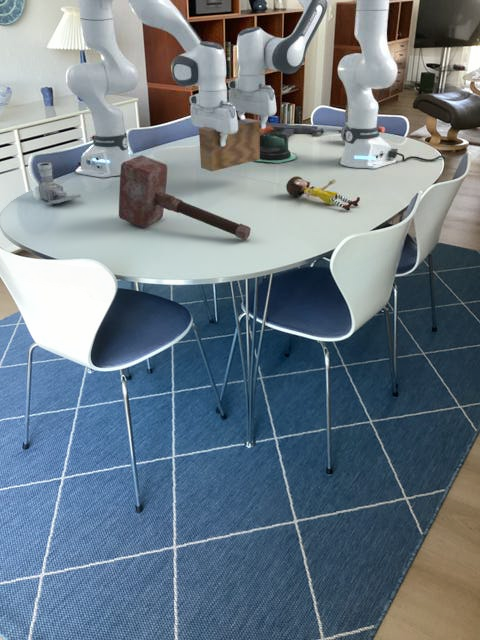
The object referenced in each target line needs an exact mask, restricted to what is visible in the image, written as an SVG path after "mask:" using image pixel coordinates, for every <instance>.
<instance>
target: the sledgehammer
mask: <svg viewBox="0 0 480 640" xmlns="http://www.w3.org/2000/svg"><path fill="white" fill-rule="evenodd" d="M168 168H169V167H168V166H167V164H166V163H164V162H161V161H158V160H155V159H153V158H150V157H147V156H145V155H143V154H142V155H138V156H136V157H133V158H130V160H128V161H125V162H123V163H122V164H121V173H120V175H119V190H118V191H119V194H118V217H119V218H120V219H121V220H124V221H125V222H128V223H131V224H133V225H135V226H138V227H139V228H142V229H146V228H148V227H149V226H151V225H153V224H154V223H157V222H158V221H160V220H161V219H162V218H163V217H164V210H167V211H171V212H173V213H177V214H180V215H181V214H182V215H184V216H187V217H189V218H191V219H194V220H196V221H199V222H202V223H203V224H207V225H208V226H212V227H214V228H217V229H218V230H222V231H224V232H226V233H229V234H231V235H234V236H235V237H236V238H239V239H241V240H244V241H247V239H248V238H249V237H250V234H251V231H252V228H251V226H248V225H246V224H243V223H237V222H236V221H233V220H230V219H227V218H225V217H223V216H220V215H218V214H216V213H213V212H209V211H207V210H204V209H202V208H201V207H200V208H199V207H197V206H195V205H192V204H190V203H187V202H184V200H182V199H179V198H177V197H176V196H174V195H171V194H168V193H166V190H167V179H168Z"/></svg>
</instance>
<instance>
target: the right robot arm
mask: <svg viewBox="0 0 480 640" xmlns="http://www.w3.org/2000/svg"><path fill="white" fill-rule="evenodd" d="M329 2H330V0H298V3H299V4H300V6H301V7H302V8H303V12H302V15H301V16H300V19H299V20H298V22H297V24H296V26H295V27H294V29H293V31H292V33H291V34H290V35H288V36H286V37H278V36H277V37H276V36H274V35H272V34H270V33H268V32H266V31H264V29H262V28H261V27H260V26H253V27H247V28H244V29H242V30H241V31H240V32H238V35H237V40H236V61H237V65H238V68H237V77H236V78H234V79H231V80H229V81H228V83H227V88H228V89H229V90H228V102H231V103H232V105H233V106H234V107H235V111H236V112H237V117H239V120H242V119H246V116H245V114H251V115H256V116H257V115H258V116H260V119H261V120H260V123H259V128H260V129H265V128H266V123H268V119H269V117H272V116H275V115H276V113H277V101H276V95H275V90H274V89H273V87H272V86H271V85H269V84H268V85H266V73H265V72H266V69H269V70H272V71H275V72H276V71H277V72H280V73H283V74H286V75H291V74H294V73H296V72H298V71H299V70H300V68H301V67H302V66H303V64H304V61H305V58H306V54H307V51H308V48H309V46H310V44H311V42H312V41H313V38H314V36H315V35H316V32H317V31H318V29H319V28H320V25H321V23H322V21H323V19H324V17H325V15H326V13H327V11H328V10H327V9H328V4H329ZM389 11H390V0H356V7H355V18H354V19H355V20H354V30H353V31H354V32H353V33H354V38H355V39H356V41H357V42H358V43H359V46H360V49H361V53H359V52H355V53H351V54H346V55H344V56H343V57H342V58H341V59H340V60H339V63H338V65H337V76H338V78H339V80H340V81H341V82H342V85H343V87H344V89H345V90H344V91H345V94H346V97H347V98H346V99H348V122H347V126H346V132H345V137H346V141H344V147H343V152H342V155H341V159H340V162H339V163H340V165H342V166H345V167H348V168H355V169H370V170H371V169H373V170H375V169H379V168H381V167H384V166H388V165H391V164H395V163H397V156H400V157H402V158H401V160H402V162H405V161H408V160H410V159H417V160H420V161H422V162H423V161H424V162H435V161H436V160H438V159H440V158H442V159H443V160H446V156H444V155H438V156H436V157H435V158H432V159H431V158H430V159H429V158H425V157H424V158H423V157H420V156H417V155H416V156H414V155H410V156H408V157H406V158H405V155H404V154H403V153H400V152H398V151H399V149H398V148H392V147H391V145H390V144H389V143H388V142H387V141H386V140H384V138H383V137H381V136H380V133H382V134H383V133H385V131H386V128H385V127H384V126H378V115H379V103H378V101H377V100H376V99H375V96H374V94H373V91H372V90H382V89H387V88H390V87H392V85H394V83H395V82H396V79H397V77H398V70H399V69H398V64H397V63H396V61H395V60H394V58H393V56H392V54H391V52H390V49H389V43H388V34H387V33H388V20H389Z"/></svg>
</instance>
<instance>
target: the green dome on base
mask: <svg viewBox="0 0 480 640" xmlns="http://www.w3.org/2000/svg"><path fill="white" fill-rule="evenodd" d="M296 158H297V155H296V154H295V153H293V152H291V150H290V149H289V137H288V136H287V135H286V134H284V133H282V132H267V133H263V134H260V159H259V160H255V161H254V162H266V163H276V164H280V163H281V164H282V163H285V162H290V161H292V160H293V161H294V160H296Z"/></svg>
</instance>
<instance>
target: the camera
mask: <svg viewBox="0 0 480 640" xmlns="http://www.w3.org/2000/svg"><path fill="white" fill-rule="evenodd" d="M37 169H38V172H39V174H40V179H41V182H39V183H38V186H37V187H38V194H39V198H40V199H42V200H45V201H47V205H53V204H60V203H63V202H67V201H70V200H75V199H78V198H81V197H82V196H81V195H80V194H73V195H68V194H67V192H66V190H64V186H62V185H61V184H59V183H55V181H54V177H53V166H52V163H51V162H50V161H43V162H39V163H37ZM67 195H68V196H67Z"/></svg>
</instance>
